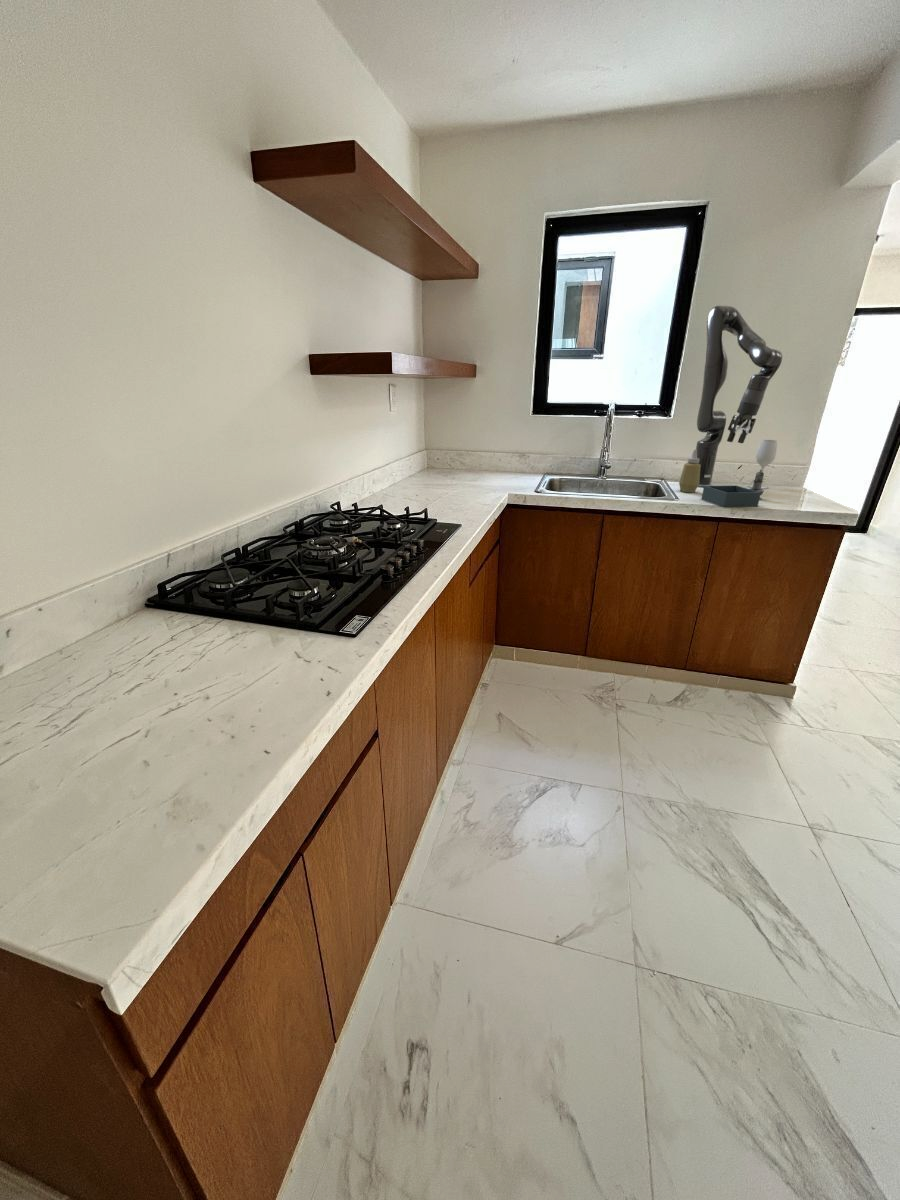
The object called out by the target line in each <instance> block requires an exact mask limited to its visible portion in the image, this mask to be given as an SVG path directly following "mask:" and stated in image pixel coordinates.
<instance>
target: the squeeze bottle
mask: <svg viewBox="0 0 900 1200" xmlns="http://www.w3.org/2000/svg"><path fill="white" fill-rule="evenodd" d="M698 463H699V459H698V458H697V450H696V449H693V451H692V453H691V456H690V457H688V458H687V460H686V463H684V464H683V469H682V472H681V475H680V478H679V482H678V483H679V491H680V492H682V493H690V494H691V493H695V492H696V490H697V488H698V487H699V486H698V485H699V479H700V467H701V465H700V464H698Z"/></svg>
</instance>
